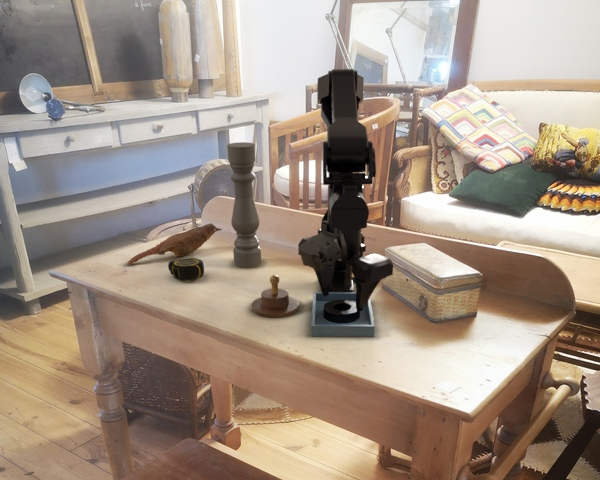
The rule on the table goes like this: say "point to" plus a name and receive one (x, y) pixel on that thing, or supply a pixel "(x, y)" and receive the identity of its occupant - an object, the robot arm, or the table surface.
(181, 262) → the tape measure
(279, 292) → the wooden peg stand
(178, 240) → the bird sculpture
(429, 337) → the table surface
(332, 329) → the tray
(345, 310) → the ring
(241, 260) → the candle holder
